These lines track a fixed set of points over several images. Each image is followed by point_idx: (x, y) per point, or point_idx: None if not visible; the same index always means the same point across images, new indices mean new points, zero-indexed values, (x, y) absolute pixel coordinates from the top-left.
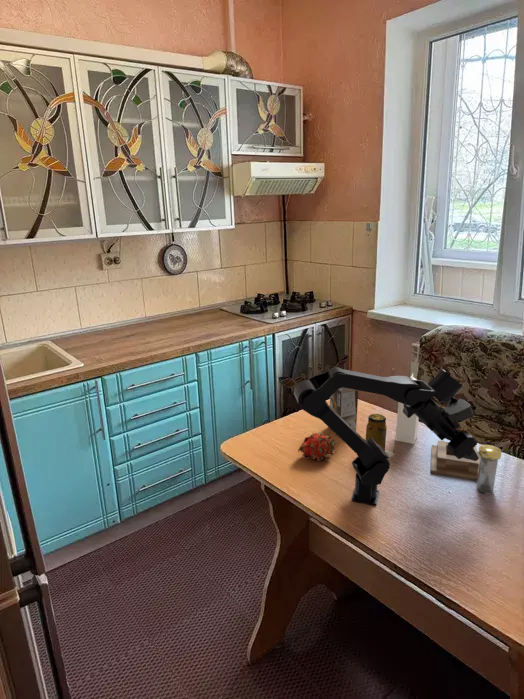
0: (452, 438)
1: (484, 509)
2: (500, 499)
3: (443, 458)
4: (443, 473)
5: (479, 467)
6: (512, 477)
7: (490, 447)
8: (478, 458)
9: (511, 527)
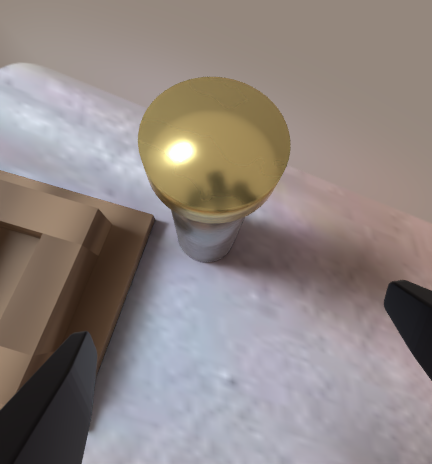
0: (67, 454)
1: (331, 281)
2: (264, 206)
3: (26, 371)
4: (96, 368)
5: (205, 236)
6: (129, 118)
7: (182, 125)
8: (406, 283)
9: (412, 233)
